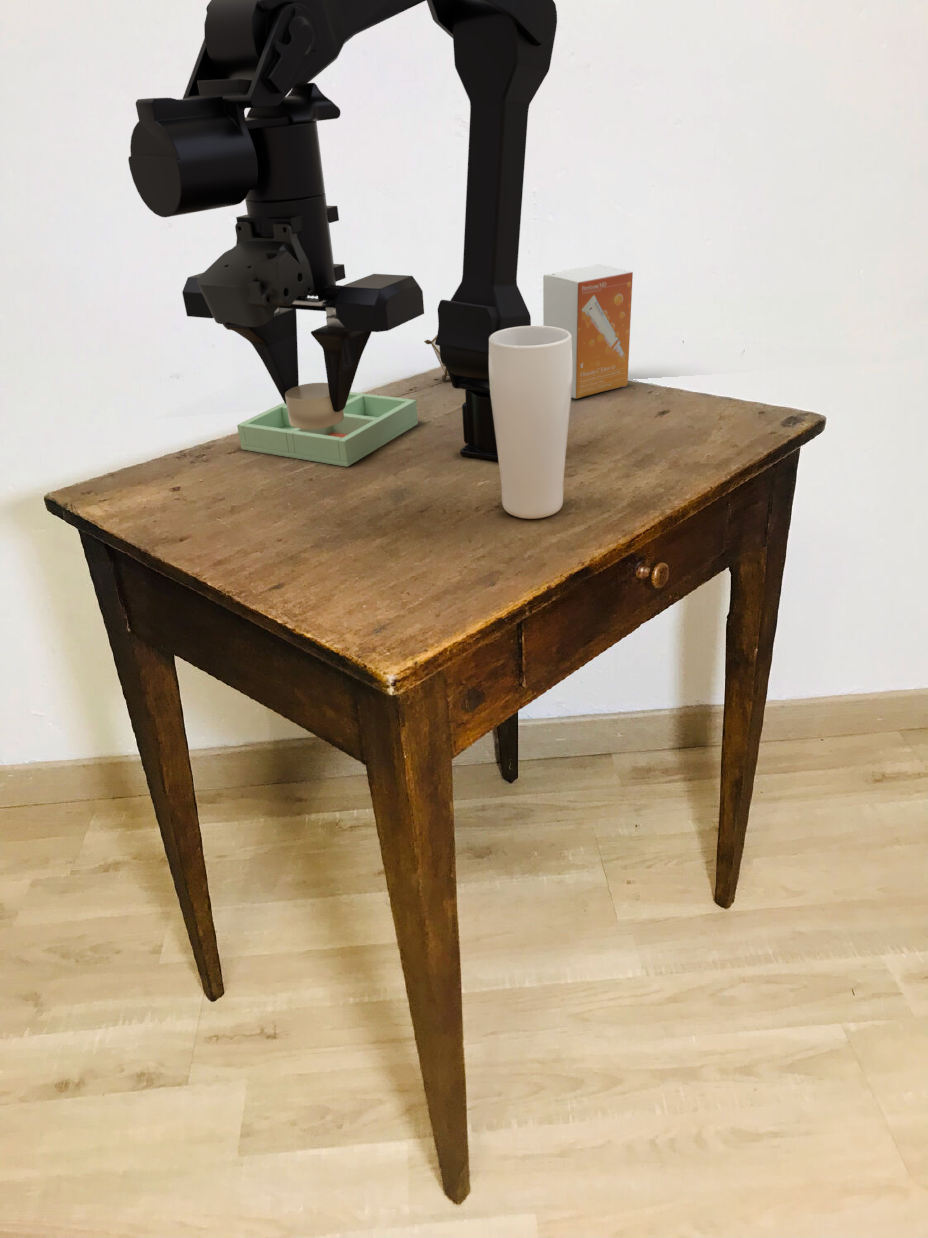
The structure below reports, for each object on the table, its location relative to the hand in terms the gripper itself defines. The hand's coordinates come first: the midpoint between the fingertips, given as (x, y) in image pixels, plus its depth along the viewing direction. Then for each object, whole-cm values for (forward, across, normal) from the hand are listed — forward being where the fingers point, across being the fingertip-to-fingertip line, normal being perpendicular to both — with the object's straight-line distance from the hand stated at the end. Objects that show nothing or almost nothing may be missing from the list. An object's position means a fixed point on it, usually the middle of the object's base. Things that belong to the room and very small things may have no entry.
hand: (315, 407), depth 76 cm
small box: (+11, +6, +44) cm, 46 cm away
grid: (+11, -14, +20) cm, 26 cm away
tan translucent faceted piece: (+11, -9, +42) cm, 45 cm away
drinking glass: (+11, +14, +10) cm, 21 cm away
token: (+1, 0, 0) cm, 1 cm away
